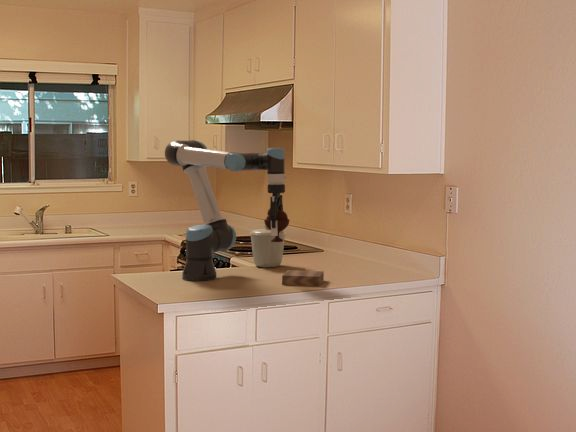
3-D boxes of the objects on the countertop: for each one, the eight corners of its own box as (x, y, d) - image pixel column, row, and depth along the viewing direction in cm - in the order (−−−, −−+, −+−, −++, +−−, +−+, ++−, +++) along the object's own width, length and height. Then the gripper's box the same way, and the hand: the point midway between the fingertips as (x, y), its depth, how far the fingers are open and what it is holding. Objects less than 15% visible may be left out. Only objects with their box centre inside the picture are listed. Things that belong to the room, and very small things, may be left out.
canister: (264, 270, 367) (264, 226, 365) (242, 265, 381) (242, 223, 379) (293, 266, 378) (293, 223, 376) (270, 262, 392) (271, 220, 390)
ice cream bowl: (268, 243, 328) (267, 208, 327) (262, 240, 339) (261, 206, 338) (292, 242, 331) (291, 207, 330) (285, 239, 342) (285, 205, 340)
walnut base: (282, 284, 330) (282, 275, 329) (287, 279, 343) (287, 270, 343) (319, 286, 327) (319, 276, 327) (323, 280, 341) (323, 271, 340)
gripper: (279, 184, 321) (280, 237, 323) (289, 182, 344) (290, 231, 345) (261, 185, 322) (262, 237, 324) (273, 182, 345) (274, 231, 347)
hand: (277, 234), depth 335 cm, fingers closed on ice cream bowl, 11 cm apart
